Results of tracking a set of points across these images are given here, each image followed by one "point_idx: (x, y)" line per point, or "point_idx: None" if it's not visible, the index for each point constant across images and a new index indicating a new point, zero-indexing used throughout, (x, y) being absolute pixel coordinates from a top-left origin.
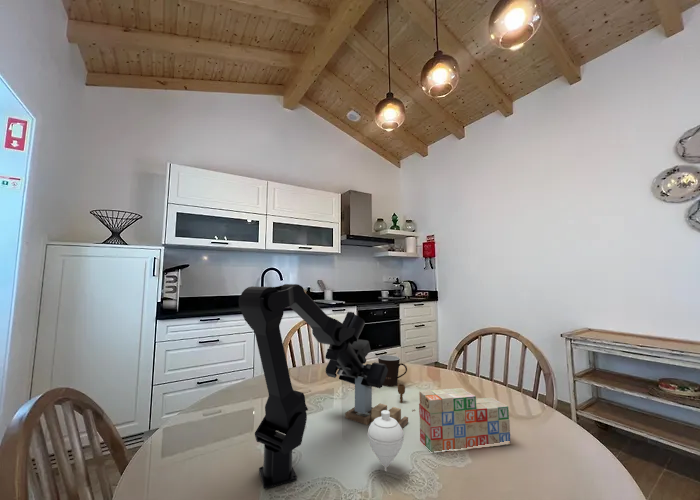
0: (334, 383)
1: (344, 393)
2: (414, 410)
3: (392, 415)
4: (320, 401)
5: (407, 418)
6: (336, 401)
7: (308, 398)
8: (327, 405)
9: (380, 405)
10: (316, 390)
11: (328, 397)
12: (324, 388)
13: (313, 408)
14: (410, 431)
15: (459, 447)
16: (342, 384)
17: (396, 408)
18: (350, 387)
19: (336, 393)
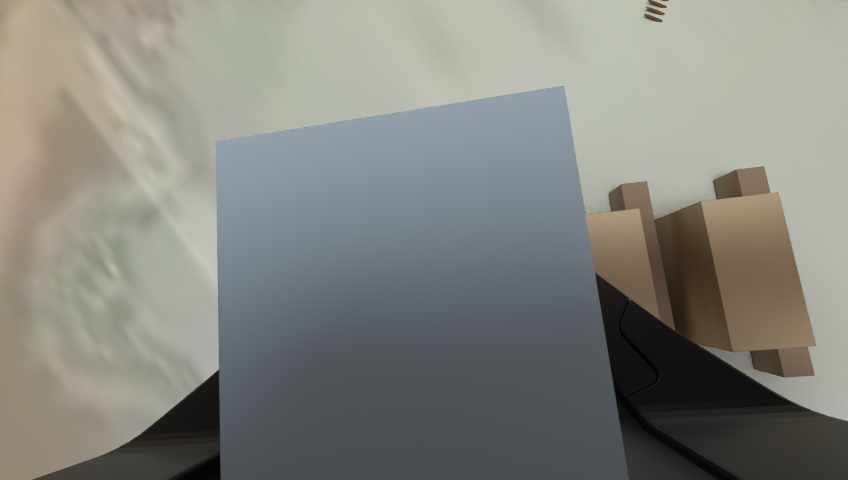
0: (28, 34)
1: (165, 108)
2: (659, 3)
3: (805, 346)
4: (123, 304)
5: (762, 177)
6: (198, 236)
7: (41, 320)
8: (192, 321)
9: (601, 251)
10: (7, 193)
11: (125, 223)
12: (26, 135)
13: (153, 414)
14: (826, 269)
15: None
16: (74, 11)
17: (743, 210)
18: (139, 11)
19: (127, 142)
